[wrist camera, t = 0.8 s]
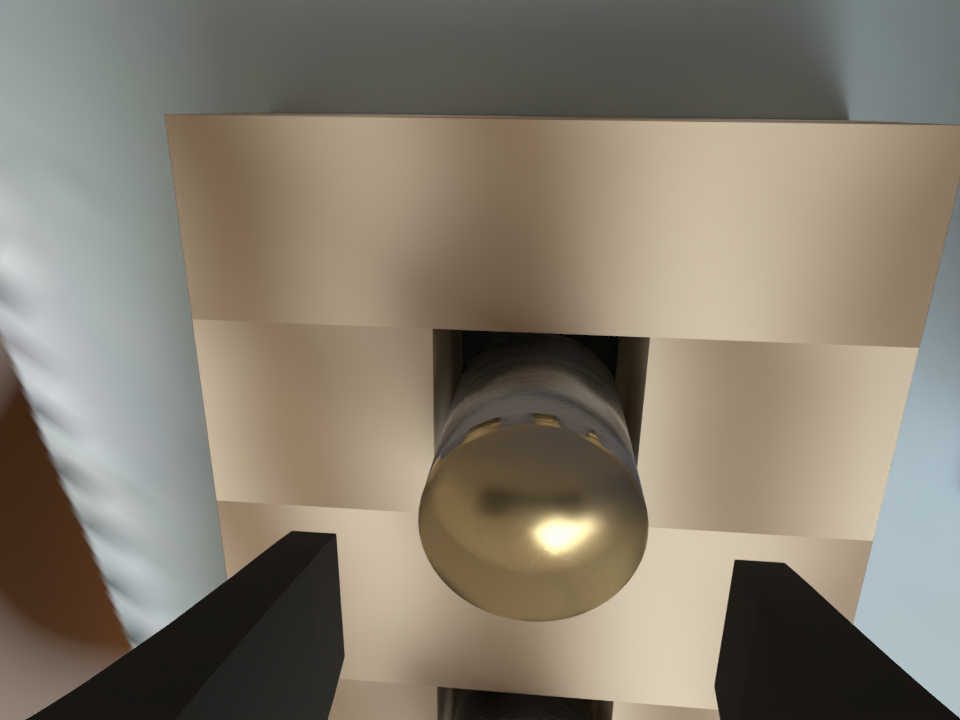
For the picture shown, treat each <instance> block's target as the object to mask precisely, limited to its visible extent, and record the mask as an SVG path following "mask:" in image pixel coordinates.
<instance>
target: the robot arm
mask: <svg viewBox="0 0 960 720" xmlns="http://www.w3.org/2000/svg"><path fill="white" fill-rule="evenodd" d="M344 658H345V652H344V638H343V623H342V609H341V594H340V580H339V565H338V551H337V536H336V534H335V533H320V532H304V531H291V532H289V533H288V534H287V535H285V536H284V537H282V538H281V539H280V540H278V541H277V542H276V543H274V544H273V545H272V546H270V547H269V548H268V549H267V550H265V551H264V552H263V553H261V554H260V555H259V556H258V557H256V558H255V559H254V560H252V561H251V562H250V563H249V564H247V565H246V566H245V567H243V568H242V569H241V570H240V571H238V572H237V573H236V574H235V575H233V576H232V577H231V578H229V579H228V580H227V581H226V582H224V583H223V584H222V585H220V586H219V587H218V588H216V589H215V590H214V591H212V592H211V593H210V594H208V595H207V596H206V597H204V598H203V599H202V600H201V601H199V602H198V603H197V604H195V605H194V606H193V607H191V608H190V609H189V610H187V611H186V612H185V613H183V614H182V615H181V616H179V617H178V618H177V619H175V620H174V621H173V622H171V623H170V624H169V625H167V626H166V627H165V628H163V629H162V630H160V631H159V632H157V633H156V634H154V635H153V636H152V637H150V638H149V639H147V640H146V641H144V642H143V643H142V644H140V645H139V646H137V647H136V648H134V649H133V650H131V651H130V652H129V653H127V654H126V655H124V656H123V657H122V658H120V659H119V660H117V661H116V662H114V663H113V664H111V665H110V666H108V667H107V668H106V669H104V670H103V671H101V672H100V673H98V674H97V675H95V676H94V677H93V678H91V679H90V680H88V681H87V682H85V683H84V684H82V685H81V686H79V687H78V688H76V689H75V690H73V691H71V692H70V693H68V694H67V695H65V696H64V697H62V698H60V699H59V700H57V701H56V702H54V703H52V704H51V705H49V706H48V707H46V708H44V709H43V710H41V711H40V712H38V713H37V714H35V715H33V716H32V717H30V718H28V719H26V720H328V717H329V714H330V710H331V707H332V703H333V699H334V696H335V692H336V688H337V684H338V681H339V677H340V673H341V669H342V665H343V662H344ZM714 688H715V694H716V700H717V705H718V711H719V716H720V720H960V718H959V717H958V716H956V715H955V714H954V713H953V712H952V711H950V710H949V709H948V708H947V707H946V706H945V705H943V704H942V703H941V702H940V701H939V700H937V699H936V698H935V697H934V696H933V695H932V694H930V693H929V692H928V691H927V690H926V689H925V688H923V687H922V686H921V685H920V684H919V683H918V682H917V681H915V680H914V679H913V678H912V677H911V676H910V675H909V674H907V673H906V672H905V671H904V670H903V669H902V668H901V667H900V666H898V665H897V664H896V663H895V662H894V661H893V660H892V659H890V658H889V657H888V656H887V655H886V654H885V653H884V652H883V651H882V650H880V649H879V648H878V647H877V646H876V645H875V644H874V643H873V642H872V641H870V640H869V639H868V638H867V637H866V636H865V635H864V634H863V633H862V632H861V631H860V630H858V629H857V628H856V627H855V626H854V625H853V624H852V623H851V622H850V621H849V620H848V619H846V618H845V617H844V616H843V615H842V614H841V613H840V612H839V611H838V610H837V609H836V608H834V607H833V606H832V605H831V604H830V603H829V602H828V601H827V600H826V599H825V598H824V597H823V596H821V595H820V594H819V593H818V592H817V591H816V590H815V589H814V588H813V587H812V586H811V585H809V584H808V583H807V582H806V581H805V580H804V579H803V578H802V577H801V576H799V575H798V574H797V573H796V572H795V571H794V570H793V569H791V568H790V567H789V566H788V565H787V564H785V563H781V562H766V561H751V560H734V567H733V573H732V579H731V585H730V591H729V597H728V604H727V610H726V616H725V622H724V628H723V634H722V641H721V647H720V653H719V659H718V665H717V671H716V678H715V684H714Z"/></svg>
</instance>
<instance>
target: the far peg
mask: <svg viewBox="0 0 960 720" xmlns="http://www.w3.org/2000/svg"><path fill="white" fill-rule="evenodd" d="M454 720H592V719H591V716H590V713H589V710H588V709H587V707H586V705H585V703H584V702H583V701H582V699H581V698H568V697H556V696H544V695H532V694H520V693H508V692H496V691H484V690H472V689H468V691H467V692H466V693H465V694H464V695H463V696H462V698H461V699H460V701H459V703H458V706H457V709H456V712H455V718H454Z"/></svg>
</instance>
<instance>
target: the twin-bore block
mask: <svg viewBox="0 0 960 720" xmlns="http://www.w3.org/2000/svg"><path fill="white" fill-rule="evenodd" d="M165 121H166V129H167V136H168V144H169V151H170V158H171V166H172V173H173V181H174V188H175V195H176V203H177V210H178V218H179V225H180V232H181V240H182V247H183V255H184V262H185V269H186V277H187V284H188V292H189V299H190V306H191V314H192V321H193V329H194V336H195V343H196V351H197V358H198V366H199V373H200V380H201V388H202V395H203V402H204V410H205V417H206V425H207V432H208V439H209V447H210V454H211V462H212V469H213V476H214V484H215V491H216V499H217V506H218V513H219V521H220V528H221V536H222V543H223V550H224V558H225V565H226V573H227V580H228V579H229V578H231V577H232V576H233V575H235V574H236V573H237V572H238V571H240V570H241V569H242V568H243V567H245V566H246V565H247V564H249V563H250V562H251V561H252V560H254V559H255V558H256V557H258V556H259V555H260V554H261V553H263V552H264V551H265V550H267V549H268V548H269V547H270V546H272V545H273V544H274V543H276V542H277V541H278V540H280V539H281V538H282V537H284V536H285V535H287V534H288V533H289V532H291V531H304V532H320V533H335V534H336V536H337V551H338V565H339V580H340V594H341V609H342V623H343V638H344V652H345V658H344V662H343V665H342V669H341V673H340V677H339V681H338V684H337V688H336V692H335V696H334V699H333V703H332V707H331V710H330V714H329V717H328V720H454V718H455V712H456V709H457V706H458V703H459V701H460V699H461V698H462V696H463V695H464V694H465V693H466V692H467V691H468V689H472V690H484V691H496V692H508V693H520V694H532V695H544V696H556V697H568V698H581V699H582V701H583V702H584V703H585V705H586V707H587V709H588V710H589V713H590V716H591V719H592V720H720V716H719V711H718V705H717V700H716V694H715V688H714V684H715V678H716V671H717V665H718V659H719V653H720V647H721V641H722V634H723V628H724V622H725V616H726V610H727V604H728V597H729V591H730V585H731V579H732V573H733V567H734V560H751V561H766V562H781V563H785V564H787V565H788V566H789V567H790V568H791V569H793V570H794V571H795V572H796V573H797V574H798V575H799V576H801V577H802V578H803V579H804V580H805V581H806V582H807V583H808V584H809V585H811V586H812V587H813V588H814V589H815V590H816V591H817V592H818V593H819V594H820V595H821V596H823V597H824V598H825V599H826V600H827V601H828V602H829V603H830V604H831V605H832V606H833V607H834V608H836V609H837V610H838V611H839V612H840V613H841V614H842V615H843V616H844V617H845V618H846V619H848V620H849V621H850V622H851V623H852V624H853V622H854V617H855V613H856V609H857V605H858V601H859V597H860V592H861V588H862V584H863V580H864V576H865V572H866V568H867V563H868V559H869V555H870V551H871V547H872V543H873V538H874V534H875V530H876V526H877V522H878V518H879V513H880V509H881V505H882V501H883V497H884V493H885V488H886V484H887V480H888V476H889V472H890V468H891V463H892V459H893V455H894V451H895V447H896V443H897V438H898V434H899V430H900V426H901V422H902V418H903V414H904V409H905V405H906V401H907V397H908V393H909V389H910V384H911V380H912V376H913V372H914V368H915V364H916V359H917V355H918V351H919V347H920V343H921V339H922V334H923V330H924V326H925V322H926V318H927V314H928V309H929V305H930V301H931V297H932V293H933V289H934V284H935V280H936V276H937V272H938V268H939V264H940V259H941V255H942V251H943V247H944V243H945V239H946V235H947V230H948V226H949V222H950V218H951V214H952V210H953V205H954V201H955V197H956V193H957V189H958V185H959V180H960V125H946V124H923V123H900V122H877V121H854V120H786V119H711V118H636V117H561V116H486V115H411V114H336V113H220V114H167V115H165ZM462 330H476V331H502V332H527V333H553V334H578V335H603V336H619V343H618V355H617V367H616V379H615V383H616V385H617V389H618V392H619V396H620V400H621V404H622V408H623V412H624V417H625V421H626V425H627V429H628V433H629V437H630V441H631V445H632V450H633V454H634V458H635V462H636V466H637V470H638V474H639V478H640V482H641V487H642V491H643V495H644V499H645V503H646V507H647V513H648V521H649V527H648V540H647V545H646V549H645V552H644V555H643V558H642V561H641V563H640V564H639V566H638V568H637V570H636V572H635V573H634V575H633V576H632V578H631V579H630V580H629V582H628V583H627V584H626V585H625V586H624V587H623V588H622V589H621V590H620V591H619V592H618V593H617V594H616V595H614V596H613V597H612V598H611V599H609V600H608V601H607V602H605V603H603V604H602V605H600V606H598V607H597V608H595V609H592V610H590V611H588V612H586V613H584V614H580V615H577V616H574V617H571V618H567V619H562V620H556V621H545V622H527V621H520V620H513V619H508V618H504V617H500V616H497V615H494V614H491V613H488V612H486V611H484V610H482V609H480V608H477V607H475V606H473V605H472V604H470V603H469V602H467V601H465V600H464V599H462V598H461V597H460V596H458V595H457V594H456V593H455V592H453V591H452V590H451V589H450V588H449V587H448V586H447V585H446V584H445V583H444V582H443V581H442V580H441V578H440V577H439V576H438V575H437V573H436V572H435V571H434V569H433V567H432V566H431V564H430V562H429V560H428V559H427V556H426V554H425V551H424V549H423V547H422V543H421V539H420V535H419V525H418V514H419V505H420V500H421V496H422V493H423V490H424V487H425V484H426V480H427V477H428V474H429V471H430V468H431V465H432V462H433V459H434V456H435V453H436V450H437V447H438V444H439V441H440V438H441V435H442V432H443V429H444V426H445V423H446V420H447V417H448V414H449V411H450V408H451V405H452V402H453V399H454V396H455V392H456V389H457V387H458V384H459V381H460V378H461V377H462Z"/></svg>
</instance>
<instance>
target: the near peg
mask: <svg viewBox="0 0 960 720" xmlns="http://www.w3.org/2000/svg"><path fill="white" fill-rule="evenodd" d="M418 525H419V535H420V539H421V543H422V547H423V549H424V551H425V554H426V556H427V559H428V560H429V562H430V564H431V566H432V567H433V569H434V571H435V572H436V573H437V575H438V576H439V577H440V578H441V580H442V581H443V582H444V583H445V584H446V585H447V586H448V587H449V588H450V589H451V590H452V591H453V592H455V593H456V594H457V595H458V596H460V597H461V598H462V599H464V600H465V601H467V602H469V603H470V604H472V605H473V606H475V607H477V608H480V609H482V610H484V611H486V612H488V613H491V614H494V615H497V616H500V617H504V618H508V619H513V620H520V621H527V622H545V621H556V620H562V619H567V618H571V617H574V616H577V615H580V614H584V613H586V612H588V611H590V610H592V609H595V608H597V607H598V606H600V605H602V604H603V603H605V602H607V601H608V600H609V599H611V598H612V597H613V596H614V595H616V594H617V593H618V592H619V591H620V590H621V589H622V588H623V587H624V586H625V585H626V584H627V583H628V582H629V580H630V579H631V578H632V576H633V575H634V573H635V572H636V570H637V568H638V566H639V564H640V563H641V561H642V558H643V555H644V552H645V549H646V545H647V540H648V527H649V521H648V513H647V507H646V503H645V499H644V495H643V491H642V487H641V482H640V478H639V474H638V470H637V466H636V462H635V458H634V454H633V450H632V445H631V441H630V437H629V433H628V429H627V425H626V421H625V417H624V412H623V408H622V404H621V400H620V396H619V392H618V389H617V385H616V383H615V381H614V378H613V376H612V374H611V373H610V371H609V370H608V368H607V367H606V365H605V364H604V363H603V362H602V361H601V359H600V358H599V357H598V356H597V355H595V354H594V353H593V352H592V351H591V350H589V349H588V348H587V347H585V346H584V345H582V344H580V343H578V342H576V341H574V340H572V339H569V338H567V337H564V336H561V335H556V334H552V333H521V334H516V335H512V336H509V337H506V338H503V339H501V340H499V341H496V342H495V343H493V344H491V345H490V346H488V347H487V348H485V349H484V350H483V351H481V352H480V353H479V354H478V355H477V356H476V357H475V358H474V359H473V360H472V361H471V362H470V364H469V365H468V366H467V368H466V369H465V371H464V373H463V375H462V377H461V378H460V381H459V384H458V387H457V389H456V392H455V396H454V399H453V402H452V405H451V408H450V411H449V414H448V417H447V420H446V423H445V426H444V429H443V432H442V435H441V438H440V441H439V444H438V447H437V450H436V453H435V456H434V459H433V462H432V465H431V468H430V471H429V474H428V477H427V480H426V484H425V487H424V490H423V493H422V496H421V500H420V505H419V514H418Z"/></svg>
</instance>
